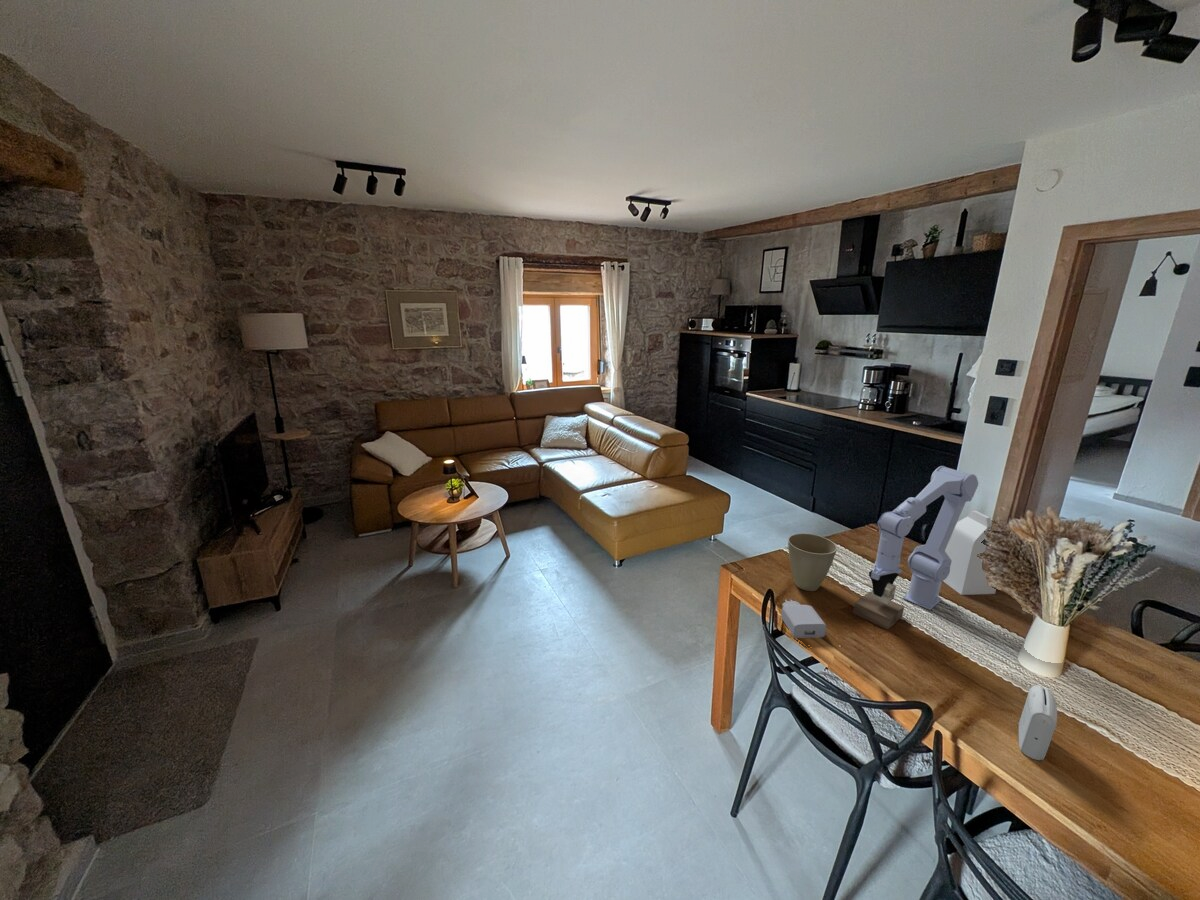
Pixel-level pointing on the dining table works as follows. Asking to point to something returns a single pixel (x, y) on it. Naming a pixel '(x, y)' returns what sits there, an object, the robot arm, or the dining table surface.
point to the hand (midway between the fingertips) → (881, 592)
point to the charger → (802, 620)
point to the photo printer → (1037, 722)
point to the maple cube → (886, 594)
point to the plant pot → (810, 559)
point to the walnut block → (878, 611)
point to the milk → (968, 555)
